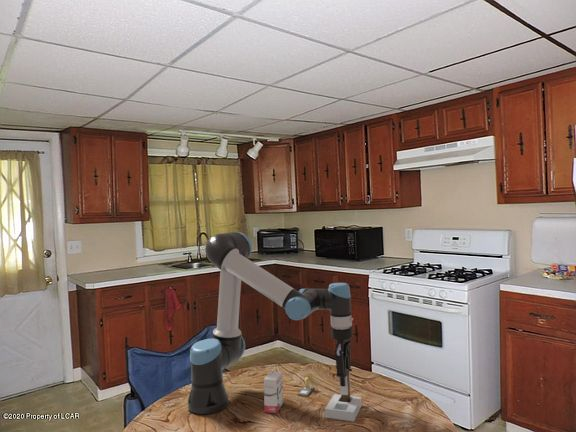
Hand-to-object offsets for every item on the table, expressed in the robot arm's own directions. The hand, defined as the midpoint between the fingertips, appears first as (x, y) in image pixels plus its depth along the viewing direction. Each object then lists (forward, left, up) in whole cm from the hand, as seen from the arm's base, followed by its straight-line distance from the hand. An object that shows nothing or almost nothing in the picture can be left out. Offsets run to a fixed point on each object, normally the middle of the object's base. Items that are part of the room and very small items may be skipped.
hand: (345, 392), depth 148 cm
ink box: (-25, -7, -6) cm, 27 cm away
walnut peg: (0, 0, -4) cm, 4 cm away
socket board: (0, -3, -6) cm, 6 cm away
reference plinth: (-19, +9, -6) cm, 21 cm away
